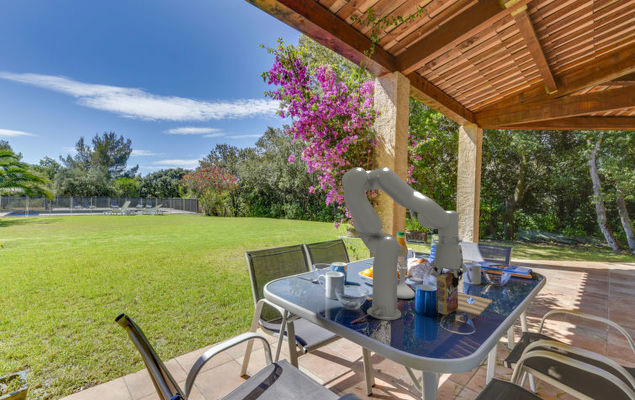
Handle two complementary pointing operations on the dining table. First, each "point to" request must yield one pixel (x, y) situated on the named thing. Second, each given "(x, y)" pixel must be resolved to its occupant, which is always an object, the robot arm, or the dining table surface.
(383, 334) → the dining table surface
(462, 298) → the striped wooden board
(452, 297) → the candy box
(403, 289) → the flower in vase
